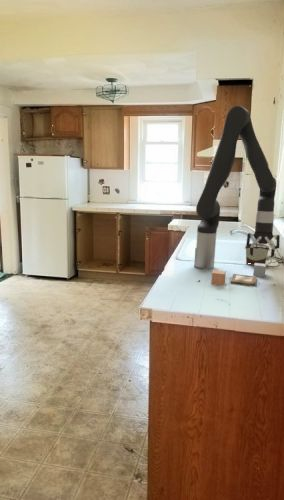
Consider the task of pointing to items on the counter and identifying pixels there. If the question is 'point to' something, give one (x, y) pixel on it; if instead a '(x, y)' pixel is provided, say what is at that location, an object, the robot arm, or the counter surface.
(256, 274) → the slate block
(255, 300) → the counter surface
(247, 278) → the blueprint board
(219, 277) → the terracotta block
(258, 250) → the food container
